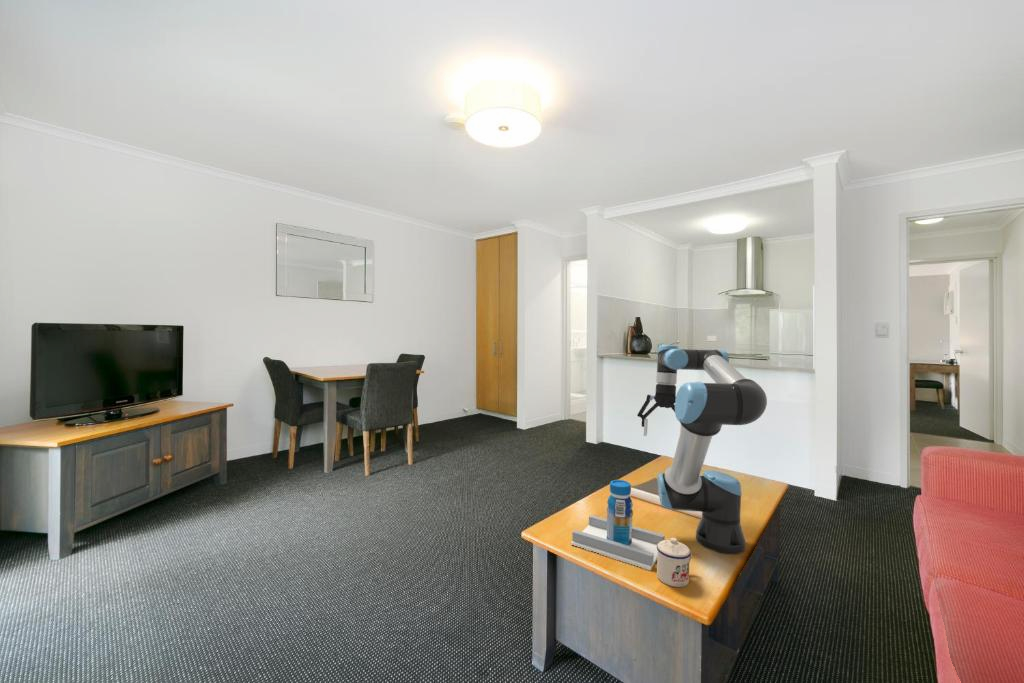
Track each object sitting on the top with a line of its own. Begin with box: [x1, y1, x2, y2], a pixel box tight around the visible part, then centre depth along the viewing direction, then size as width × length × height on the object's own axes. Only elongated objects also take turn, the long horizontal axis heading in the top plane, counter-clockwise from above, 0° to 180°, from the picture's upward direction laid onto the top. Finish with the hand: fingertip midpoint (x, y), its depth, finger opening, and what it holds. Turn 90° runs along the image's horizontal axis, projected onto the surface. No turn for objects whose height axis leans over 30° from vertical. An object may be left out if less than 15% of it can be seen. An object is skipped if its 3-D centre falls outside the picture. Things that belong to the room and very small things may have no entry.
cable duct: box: [570, 514, 666, 572], centre depth 139 cm, size 26×18×4 cm
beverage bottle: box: [606, 479, 634, 546], centre depth 139 cm, size 8×8×20 cm
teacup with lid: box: [656, 537, 692, 588], centre depth 121 cm, size 12×9×12 cm
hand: (662, 438), depth 164 cm, fingers open, 13 cm apart
